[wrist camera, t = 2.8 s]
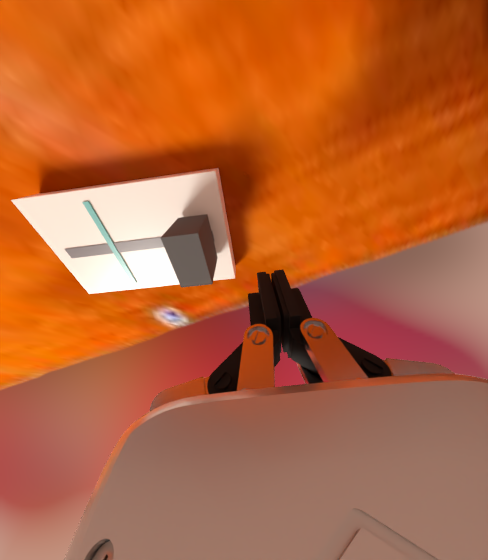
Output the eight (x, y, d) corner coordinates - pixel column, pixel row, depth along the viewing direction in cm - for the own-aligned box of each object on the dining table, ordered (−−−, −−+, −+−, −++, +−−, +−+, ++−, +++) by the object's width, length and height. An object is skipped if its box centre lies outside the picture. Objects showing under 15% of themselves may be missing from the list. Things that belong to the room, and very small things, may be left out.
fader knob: (207, 214, 18) (197, 233, 14) (217, 257, 21) (212, 284, 17) (178, 217, 18) (160, 237, 14) (192, 260, 21) (181, 287, 17)
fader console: (218, 167, 19) (214, 170, 16) (235, 265, 26) (235, 278, 23) (39, 193, 20) (9, 200, 17) (102, 280, 27) (88, 294, 24)
